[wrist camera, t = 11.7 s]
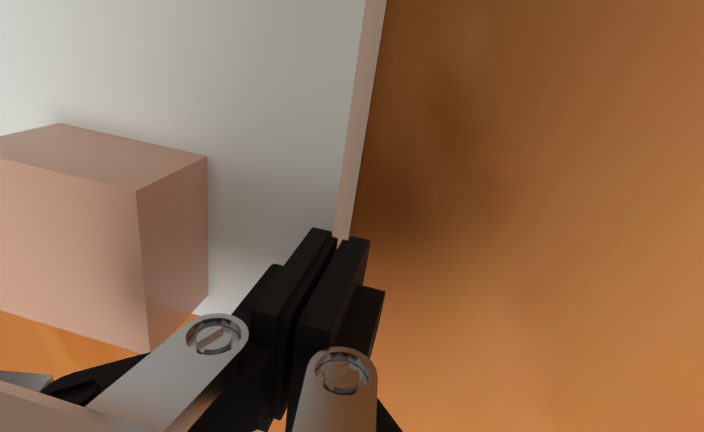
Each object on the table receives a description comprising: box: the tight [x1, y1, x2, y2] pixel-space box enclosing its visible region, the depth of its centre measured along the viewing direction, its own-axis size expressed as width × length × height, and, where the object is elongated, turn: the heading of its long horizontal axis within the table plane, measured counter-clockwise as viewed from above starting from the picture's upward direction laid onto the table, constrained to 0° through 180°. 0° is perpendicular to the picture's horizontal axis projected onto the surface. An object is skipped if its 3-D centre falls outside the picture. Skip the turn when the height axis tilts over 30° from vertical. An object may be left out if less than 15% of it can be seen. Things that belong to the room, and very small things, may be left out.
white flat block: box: [0, 0, 387, 316], centre depth 13 cm, size 12×16×3 cm
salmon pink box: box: [0, 123, 208, 354], centre depth 12 cm, size 5×5×3 cm
